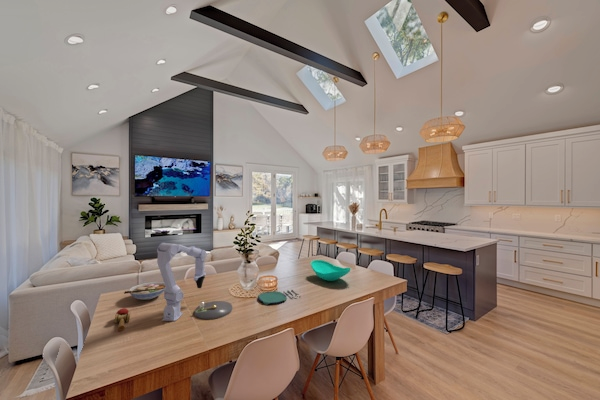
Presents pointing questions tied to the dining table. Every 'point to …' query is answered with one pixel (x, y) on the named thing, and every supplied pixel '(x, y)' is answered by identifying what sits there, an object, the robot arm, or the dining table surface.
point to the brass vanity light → (206, 308)
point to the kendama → (122, 318)
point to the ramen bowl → (147, 290)
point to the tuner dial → (214, 310)
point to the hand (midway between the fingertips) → (199, 287)
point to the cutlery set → (273, 297)
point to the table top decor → (328, 270)
